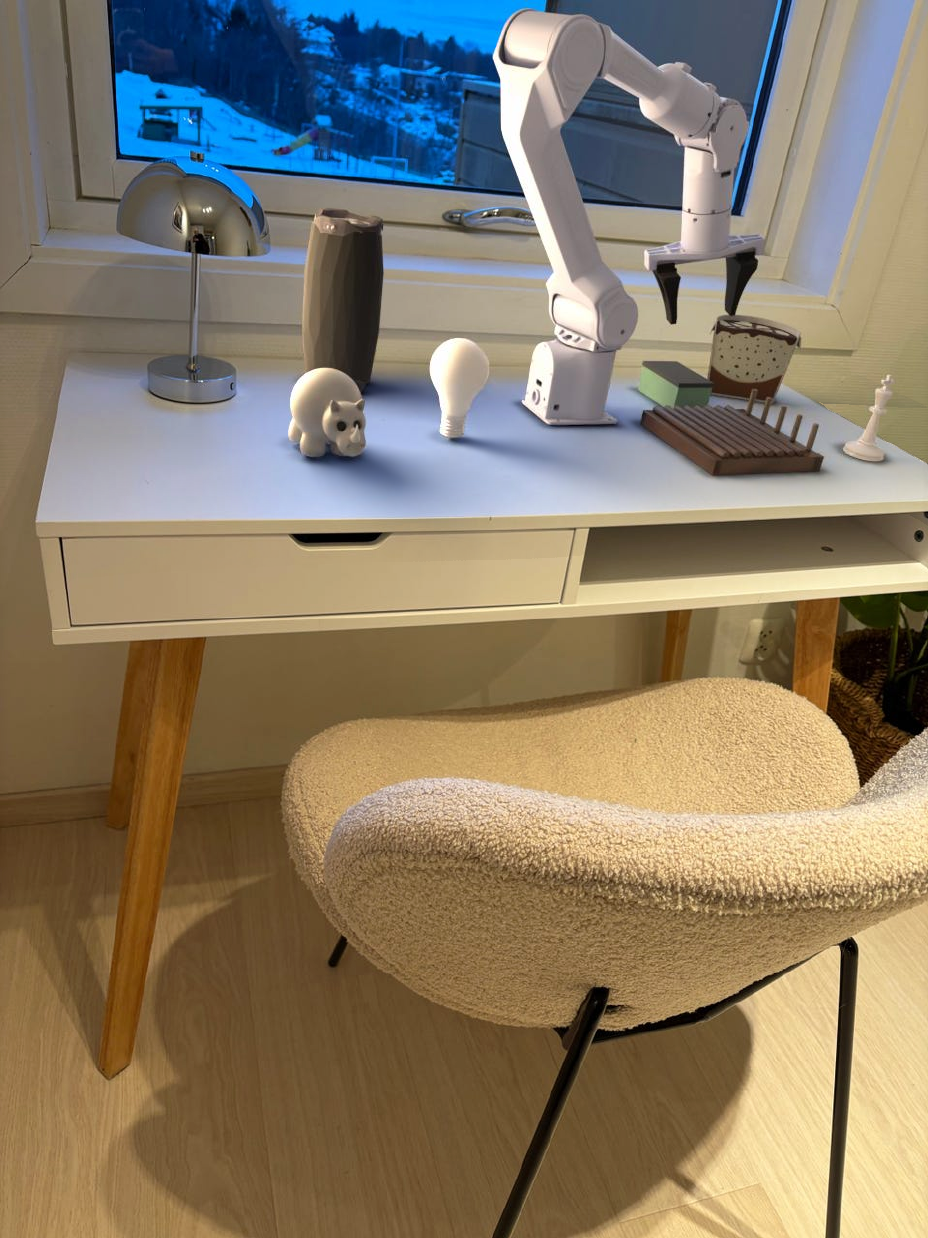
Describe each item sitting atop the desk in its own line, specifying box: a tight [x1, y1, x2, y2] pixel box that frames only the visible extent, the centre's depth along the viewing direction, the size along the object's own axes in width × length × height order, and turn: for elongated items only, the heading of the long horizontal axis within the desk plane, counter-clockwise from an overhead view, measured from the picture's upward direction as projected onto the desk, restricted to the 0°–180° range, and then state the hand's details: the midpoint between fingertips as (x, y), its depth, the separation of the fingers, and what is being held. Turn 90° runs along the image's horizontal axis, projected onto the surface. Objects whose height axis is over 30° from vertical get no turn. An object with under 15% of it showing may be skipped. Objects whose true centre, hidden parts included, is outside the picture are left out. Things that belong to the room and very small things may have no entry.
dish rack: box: [639, 389, 825, 476], centre depth 120 cm, size 15×16×5 cm
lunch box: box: [637, 360, 714, 408], centre depth 133 cm, size 5×9×4 cm, turn 21°
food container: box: [706, 314, 802, 405], centre depth 140 cm, size 12×6×10 cm, turn 84°
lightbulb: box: [429, 337, 490, 440], centre depth 109 cm, size 6×6×11 cm
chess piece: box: [842, 374, 896, 462], centre depth 123 cm, size 5×5×10 cm
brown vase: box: [301, 207, 385, 393], centre depth 118 cm, size 9×9×20 cm
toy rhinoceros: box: [288, 368, 367, 458], centre depth 100 cm, size 7×12×8 cm, turn 25°
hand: (700, 317), depth 129 cm, fingers open, 7 cm apart
